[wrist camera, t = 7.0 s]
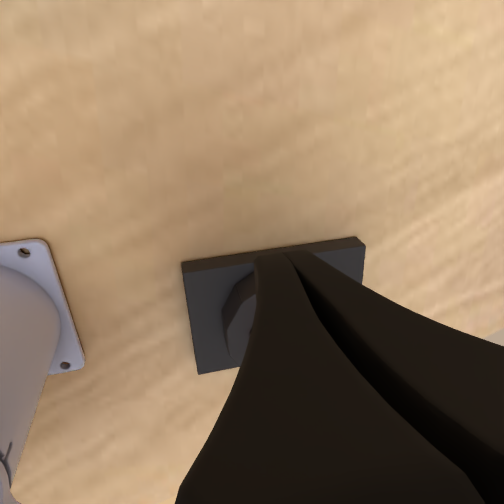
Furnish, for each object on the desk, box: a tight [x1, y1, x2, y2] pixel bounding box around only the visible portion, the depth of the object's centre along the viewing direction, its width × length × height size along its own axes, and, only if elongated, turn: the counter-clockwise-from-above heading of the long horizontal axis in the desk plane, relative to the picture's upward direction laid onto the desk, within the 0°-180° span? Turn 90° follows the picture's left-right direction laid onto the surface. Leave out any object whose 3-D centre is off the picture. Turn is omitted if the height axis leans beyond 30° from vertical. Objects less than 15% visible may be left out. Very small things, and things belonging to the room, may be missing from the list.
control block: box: [181, 237, 366, 375], centre depth 22 cm, size 10×7×3 cm
